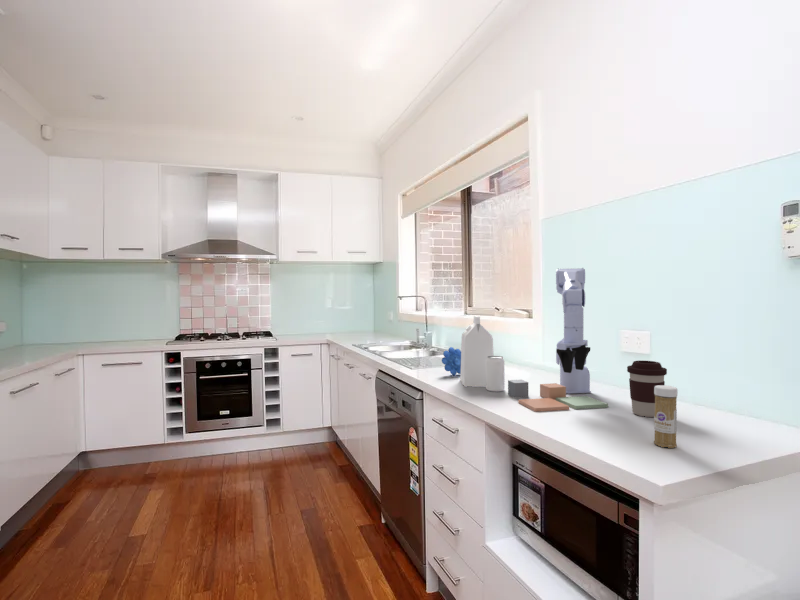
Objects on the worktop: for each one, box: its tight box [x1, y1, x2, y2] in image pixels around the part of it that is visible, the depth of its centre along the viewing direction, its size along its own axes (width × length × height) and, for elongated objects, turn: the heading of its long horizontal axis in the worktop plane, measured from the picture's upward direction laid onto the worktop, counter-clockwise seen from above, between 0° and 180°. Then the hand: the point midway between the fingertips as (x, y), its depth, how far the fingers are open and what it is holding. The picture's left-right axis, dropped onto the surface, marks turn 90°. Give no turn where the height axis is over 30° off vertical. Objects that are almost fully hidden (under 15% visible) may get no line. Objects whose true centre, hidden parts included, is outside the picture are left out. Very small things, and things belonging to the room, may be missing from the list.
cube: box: [507, 379, 529, 398], centre depth 154 cm, size 5×5×5 cm
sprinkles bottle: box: [653, 384, 678, 449], centre depth 103 cm, size 5×5×13 cm
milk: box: [459, 315, 495, 388], centre depth 176 cm, size 12×12×26 cm
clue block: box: [539, 382, 567, 400], centre depth 151 cm, size 6×6×4 cm
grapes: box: [441, 346, 461, 376], centre depth 193 cm, size 12×7×12 cm, turn 113°
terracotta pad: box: [517, 397, 570, 413], centre depth 140 cm, size 11×11×1 cm
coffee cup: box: [626, 360, 668, 418], centre depth 130 cm, size 10×10×15 cm
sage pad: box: [556, 395, 609, 410], centre depth 142 cm, size 11×11×1 cm
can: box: [485, 355, 506, 393], centre depth 163 cm, size 6×6×12 cm
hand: (573, 371), depth 142 cm, fingers open, 7 cm apart
